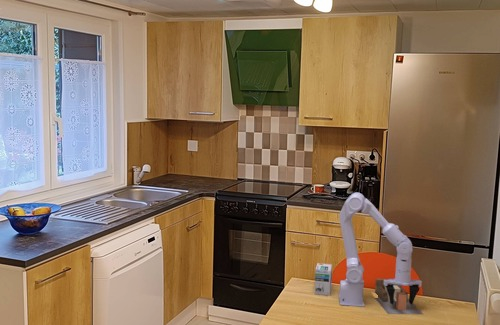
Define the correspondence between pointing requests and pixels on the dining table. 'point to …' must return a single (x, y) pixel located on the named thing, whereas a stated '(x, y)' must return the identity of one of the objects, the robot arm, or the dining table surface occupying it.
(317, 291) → the light bulb box
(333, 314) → the dining table surface
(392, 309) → the panel
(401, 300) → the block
